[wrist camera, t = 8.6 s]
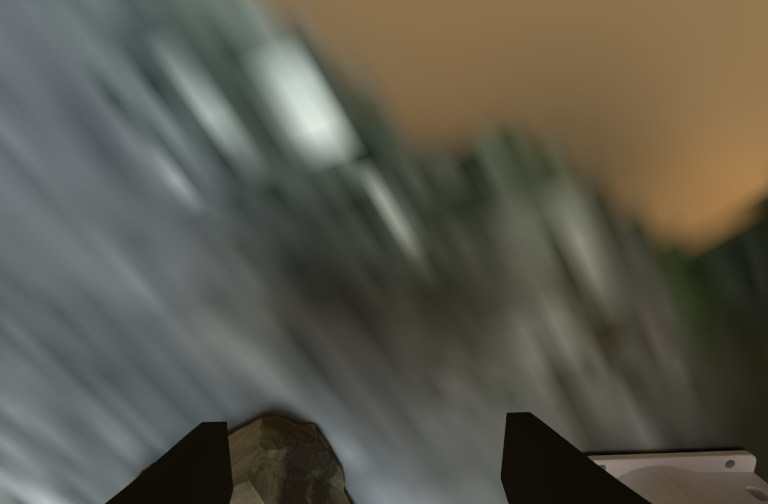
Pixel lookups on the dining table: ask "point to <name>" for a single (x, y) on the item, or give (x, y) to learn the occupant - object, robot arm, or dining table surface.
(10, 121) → the dining table surface
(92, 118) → the dining table surface
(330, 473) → the stone block
